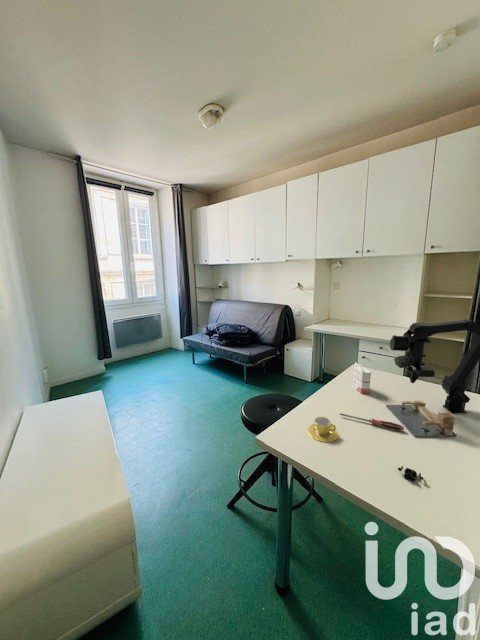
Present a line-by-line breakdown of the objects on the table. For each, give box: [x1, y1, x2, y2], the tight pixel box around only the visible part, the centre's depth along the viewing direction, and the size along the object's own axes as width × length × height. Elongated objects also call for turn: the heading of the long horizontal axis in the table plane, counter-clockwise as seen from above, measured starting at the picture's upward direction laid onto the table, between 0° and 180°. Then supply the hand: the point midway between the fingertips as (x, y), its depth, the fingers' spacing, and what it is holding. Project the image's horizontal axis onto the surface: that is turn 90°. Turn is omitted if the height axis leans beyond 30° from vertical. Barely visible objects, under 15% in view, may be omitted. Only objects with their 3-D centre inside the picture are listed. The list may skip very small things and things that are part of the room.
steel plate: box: [385, 404, 458, 438], centre depth 111 cm, size 16×22×1 cm
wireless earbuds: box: [397, 465, 425, 483], centre depth 83 cm, size 7×2×5 cm
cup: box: [307, 416, 339, 443], centre depth 105 cm, size 12×12×5 cm
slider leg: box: [423, 412, 456, 432], centre depth 102 cm, size 10×3×6 cm, turn 87°
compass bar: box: [399, 400, 454, 435], centre depth 111 cm, size 10×22×3 cm, turn 177°
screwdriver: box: [339, 413, 405, 432], centre depth 110 cm, size 25×3×3 cm, turn 61°
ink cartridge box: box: [352, 362, 372, 394], centre depth 138 cm, size 9×5×15 cm, turn 6°
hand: (412, 382), depth 120 cm, fingers closed
